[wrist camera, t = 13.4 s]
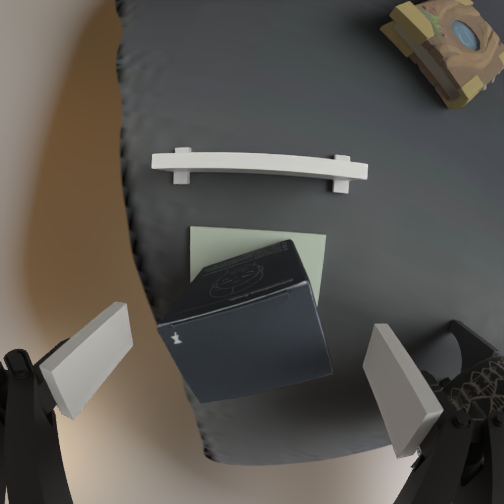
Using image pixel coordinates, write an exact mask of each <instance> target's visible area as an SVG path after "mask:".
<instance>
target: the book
mask: <svg viewBox="0 0 504 504" xmlns="http://www.w3.org/2000/svg"><path fill="white" fill-rule="evenodd" d="M472 4H473V2H472V1H471V0H429V1H426V2H423V3H420V4H418V5H413V4H412V3H411V2H410V1H408V2H405V3H403V4H400V5H398V6H395V8H394V9H393V10H392V12H391V13H390V15H389V16H390V17H391V18H392V19H393V20H394V21H392V22H389V23H387V24H385V25H383V26H382V27H381V28H380V30H381V31H382V32H383V33H384V34H385V35H386V36H387V37H388V38H389V39H390V40H391V41H392V42H393V43H394V45H395V46H396V47H397V48H398V49H399V50H400V51H401V52H402V53H403V54H404V55H405V56H406V57H409V58H410V59H411V60H412V61H413V62H414V64H418V67H419V69H420V71H421V72H422V73H423V74H424V76H425V77H426V78H427V79H428V81H429V82H430V83H431V84H432V86H434V87H435V90H436V91H437V93H438V94H439V95H440V97H441V98H442V100H443V101H444V103H445V104H446V106H447V107H448V108H449V109H460V108H462V107H463V106H465V105H466V104H467V103H468V102H469V101H470V100H471V99H472V98H473V97H474V96H475V95H476V94H477V93H479V92H480V91H484V90H485V89H486V85H487V84H488V83H490V84H491V83H492V84H493V83H494V79H495V78H494V77H495V76H496V75H497V74H500V71H501V70H503V69H504V44H502V43H501V42H500V39H499V37H498V36H497V34H496V33H495V31H493V30H492V28H491V26H490V25H489V24H488V23H487V22H485V21H484V20H483V18H482V17H480V14H479V12H478V11H477V10H475V9H474V7H473V6H472Z"/></svg>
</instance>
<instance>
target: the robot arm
mask: <svg viewBox="0 0 504 504" xmlns="http://www.w3.org/2000/svg"><path fill="white" fill-rule="evenodd" d="M132 346H133V340H132V335H131V329H130V323H129V316H128V309H127V304H126V303H122V302H116V301H115V302H114V303H113V304H111V305H110V306H109V307H108V308H106V309H105V310H104V311H103V312H101V313H100V314H99V315H98V316H97V317H96V318H94V319H93V320H92V321H91V322H89V323H88V324H87V325H86V326H85V327H83V328H82V329H81V330H80V331H79V332H77V333H76V334H75V335H74V336H73V337H72V338H68V339H66V340H64V341H61V342H60V343H59V344H58V345H57V346H55V348H53V349H52V350H51V351H50V352H49V353H47V354H46V355H45V356H44V357H42V358H41V359H40V360H39V361H38V362H37V363H36V364H34V366H33V365H32V362H31V360H30V357H29V355H28V353H27V352H26V350H23V349H15V350H12V351H10V352H8V353H7V354H6V355H5V356H4V361H5V364H6V366H7V368H8V370H5V369H4V368H3V365H2V363H1V362H0V504H5V493H6V485H7V493H8V500H9V504H73V501H72V498H71V494H70V491H69V487H68V483H67V479H66V475H65V471H64V466H63V462H62V456H61V451H60V445H59V439H58V432H57V424H56V415H55V412H54V410H53V409H54V407H55V406H56V405H57V406H58V408H59V410H60V412H61V414H63V415H65V416H67V417H69V418H71V419H73V420H74V419H75V418H76V417H77V415H78V414H79V413H80V411H81V410H82V409H83V407H84V406H85V405H86V404H87V402H88V401H89V400H90V399H91V397H92V396H93V395H94V393H95V392H96V391H97V390H98V388H99V387H100V386H101V384H102V383H103V382H104V381H105V380H106V378H107V377H108V376H109V375H110V373H111V372H112V371H113V370H114V368H115V367H116V366H117V365H118V363H119V362H120V361H121V360H122V358H123V357H124V356H125V355H126V354H127V352H128V351H129V350H130V349H131V347H132ZM363 369H364V371H365V374H366V376H367V379H368V381H369V384H370V386H371V389H372V391H373V394H374V396H375V399H376V402H377V404H378V407H379V409H380V412H381V415H382V417H383V420H384V423H385V426H386V428H387V431H388V434H389V437H390V440H391V443H392V445H393V448H394V451H395V454H396V457H397V458H402V457H407V456H411V455H413V454H414V453H415V451H416V450H417V449H418V448H419V447H420V449H421V451H422V453H421V455H420V456H419V457H418V458H417V460H416V461H415V462H414V463H413V465H412V466H411V467H412V468H413V467H414V468H413V470H412V472H411V474H410V476H409V477H408V479H407V481H406V483H405V485H404V487H403V488H402V490H401V492H400V494H399V495H398V497H397V499H396V500H395V502H394V503H393V504H451V502H452V500H453V503H452V504H504V412H502V411H498V410H496V411H492V412H491V413H490V414H489V415H488V417H487V418H486V420H473V419H472V417H471V416H470V415H469V414H467V413H465V412H463V411H455V409H454V407H453V406H452V404H451V403H450V401H449V400H448V398H447V396H446V395H445V393H444V392H443V391H442V389H441V387H440V386H439V385H438V383H437V381H436V380H435V378H434V377H433V376H432V375H431V374H429V373H428V372H427V371H419V369H418V368H417V366H416V365H415V363H414V362H413V360H412V359H411V357H410V356H409V354H408V353H407V351H406V350H405V348H404V347H403V345H402V344H401V342H400V341H399V340H398V338H397V337H396V335H395V334H394V332H393V331H392V330H391V328H390V327H389V325H388V324H374V328H373V331H372V335H371V339H370V342H369V346H368V349H367V353H366V356H365V359H364V363H363Z"/></svg>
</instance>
